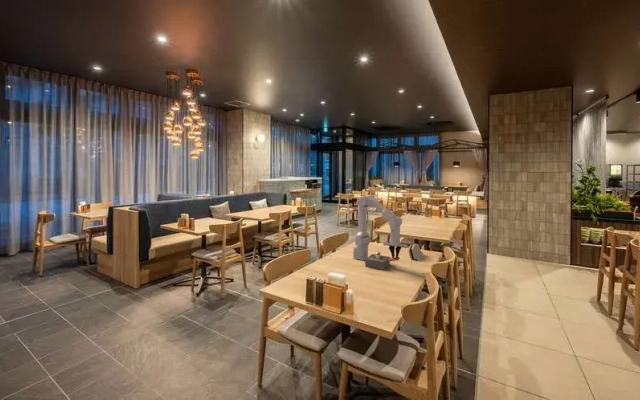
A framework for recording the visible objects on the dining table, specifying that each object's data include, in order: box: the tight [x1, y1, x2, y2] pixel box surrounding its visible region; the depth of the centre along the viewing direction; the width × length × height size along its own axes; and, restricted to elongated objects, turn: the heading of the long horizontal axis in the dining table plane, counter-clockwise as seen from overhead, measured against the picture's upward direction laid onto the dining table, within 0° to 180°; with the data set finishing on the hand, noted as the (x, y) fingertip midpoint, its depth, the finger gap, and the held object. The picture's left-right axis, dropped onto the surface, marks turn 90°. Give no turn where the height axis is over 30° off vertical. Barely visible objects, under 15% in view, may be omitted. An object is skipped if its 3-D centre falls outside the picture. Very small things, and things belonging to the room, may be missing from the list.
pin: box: [375, 251, 381, 259], centre depth 196 cm, size 3×3×8 cm
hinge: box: [407, 243, 424, 262], centre depth 214 cm, size 17×5×10 cm, turn 149°
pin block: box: [365, 253, 391, 271], centre depth 197 cm, size 12×12×5 cm
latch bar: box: [387, 256, 401, 262], centre depth 191 cm, size 7×4×1 cm, turn 57°
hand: (395, 258), depth 190 cm, fingers closed
